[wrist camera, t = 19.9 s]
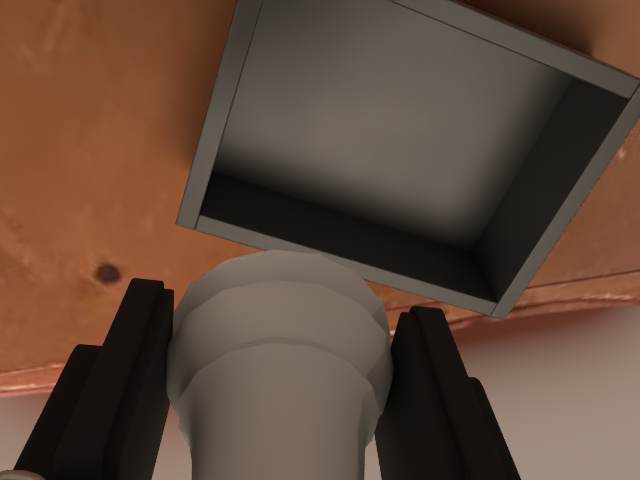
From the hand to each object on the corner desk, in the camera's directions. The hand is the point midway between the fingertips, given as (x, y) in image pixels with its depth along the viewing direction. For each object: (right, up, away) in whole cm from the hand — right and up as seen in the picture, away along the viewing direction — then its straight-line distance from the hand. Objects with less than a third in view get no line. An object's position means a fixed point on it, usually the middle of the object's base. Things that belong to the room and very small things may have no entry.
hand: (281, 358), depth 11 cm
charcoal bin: (+4, +8, +15) cm, 18 cm away
